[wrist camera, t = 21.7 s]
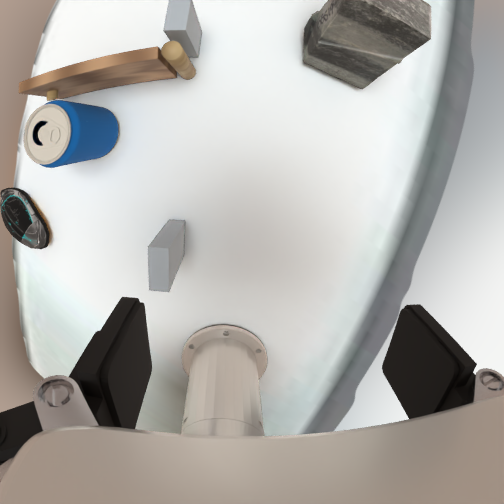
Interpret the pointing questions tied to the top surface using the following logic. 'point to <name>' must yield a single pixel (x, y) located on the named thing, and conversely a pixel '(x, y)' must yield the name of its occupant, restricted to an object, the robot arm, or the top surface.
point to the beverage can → (69, 133)
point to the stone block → (365, 37)
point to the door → (112, 72)
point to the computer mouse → (23, 219)
